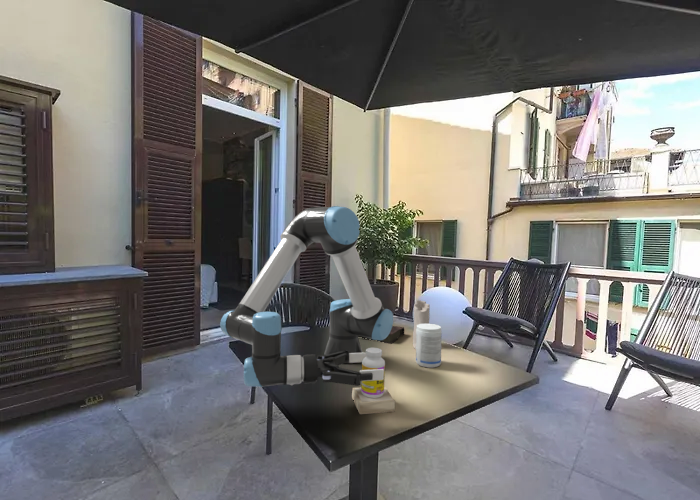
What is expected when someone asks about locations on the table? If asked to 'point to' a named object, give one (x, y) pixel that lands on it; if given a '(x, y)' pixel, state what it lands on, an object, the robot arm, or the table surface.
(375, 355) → the supplement bottle
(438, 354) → the supplement tub
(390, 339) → the diary
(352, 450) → the table surface
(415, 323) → the candle
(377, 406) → the birch plinth
